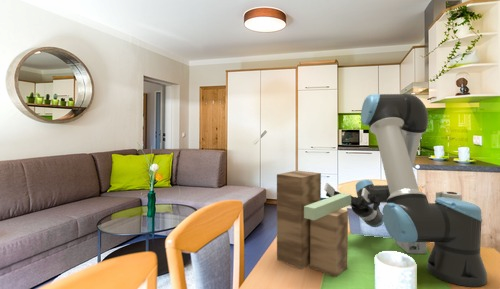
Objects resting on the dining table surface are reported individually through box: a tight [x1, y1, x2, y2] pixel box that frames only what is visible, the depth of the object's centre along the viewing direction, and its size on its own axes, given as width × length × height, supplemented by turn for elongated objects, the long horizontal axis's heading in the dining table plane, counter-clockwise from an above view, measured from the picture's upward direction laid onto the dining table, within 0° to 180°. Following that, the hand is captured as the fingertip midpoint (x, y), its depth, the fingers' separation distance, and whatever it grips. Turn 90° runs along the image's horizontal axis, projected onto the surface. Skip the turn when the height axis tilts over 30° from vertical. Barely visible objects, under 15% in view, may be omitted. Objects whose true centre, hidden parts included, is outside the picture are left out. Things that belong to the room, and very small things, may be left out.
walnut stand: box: [276, 170, 349, 278], centre depth 97 cm, size 12×20×30 cm, turn 46°
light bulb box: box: [394, 239, 427, 255], centre depth 110 cm, size 11×7×11 cm, turn 179°
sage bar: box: [304, 192, 352, 220], centre depth 94 cm, size 24×4×4 cm, turn 136°
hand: (343, 188), depth 101 cm, fingers open, 13 cm apart
